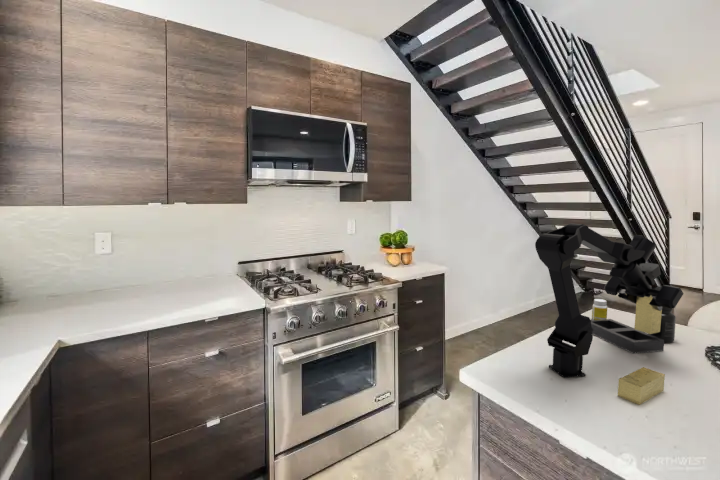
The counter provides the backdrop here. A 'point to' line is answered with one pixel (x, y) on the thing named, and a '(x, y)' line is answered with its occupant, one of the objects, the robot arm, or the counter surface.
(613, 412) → the counter surface
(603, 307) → the supplement bottle
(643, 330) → the brass block
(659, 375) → the block
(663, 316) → the supplement bottle
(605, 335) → the compartment tray
